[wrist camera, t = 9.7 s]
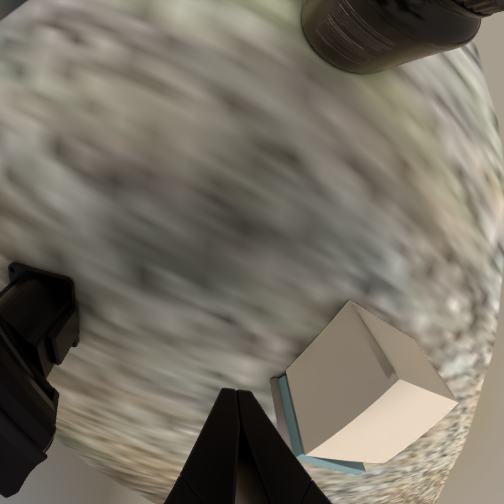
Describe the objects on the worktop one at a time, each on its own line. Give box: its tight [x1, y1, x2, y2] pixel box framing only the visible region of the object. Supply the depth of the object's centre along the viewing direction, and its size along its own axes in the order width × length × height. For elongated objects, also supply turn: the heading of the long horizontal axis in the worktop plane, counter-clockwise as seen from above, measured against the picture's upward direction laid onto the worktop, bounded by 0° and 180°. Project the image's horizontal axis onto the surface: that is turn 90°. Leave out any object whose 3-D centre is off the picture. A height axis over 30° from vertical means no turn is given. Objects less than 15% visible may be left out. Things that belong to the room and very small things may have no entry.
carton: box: [286, 300, 459, 463], centre depth 20 cm, size 9×8×8 cm
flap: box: [270, 375, 366, 475], centre depth 21 cm, size 9×2×8 cm, turn 46°
